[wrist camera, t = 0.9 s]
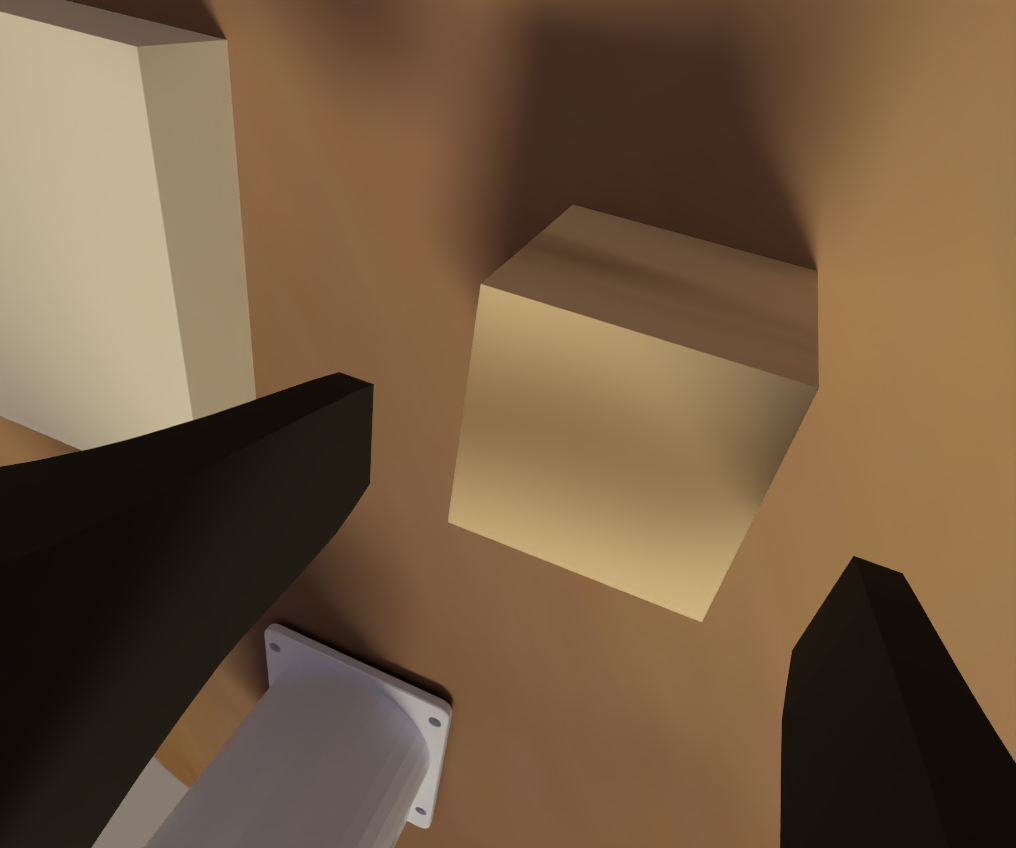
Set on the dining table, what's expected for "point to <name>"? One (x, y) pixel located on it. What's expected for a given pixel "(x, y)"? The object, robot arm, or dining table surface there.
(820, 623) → the robot arm
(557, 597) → the dining table surface
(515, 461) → the maple cube
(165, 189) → the beige block
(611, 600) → the dining table surface
